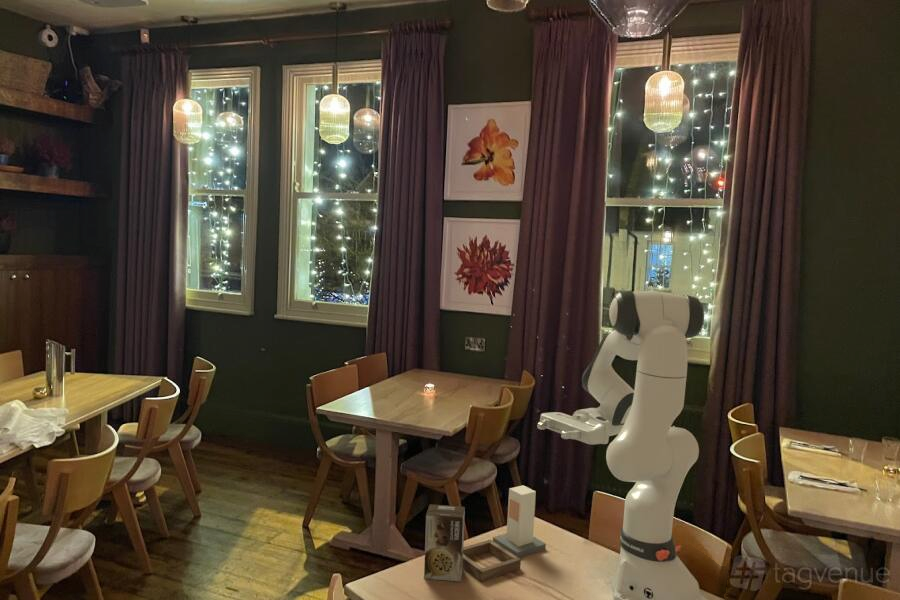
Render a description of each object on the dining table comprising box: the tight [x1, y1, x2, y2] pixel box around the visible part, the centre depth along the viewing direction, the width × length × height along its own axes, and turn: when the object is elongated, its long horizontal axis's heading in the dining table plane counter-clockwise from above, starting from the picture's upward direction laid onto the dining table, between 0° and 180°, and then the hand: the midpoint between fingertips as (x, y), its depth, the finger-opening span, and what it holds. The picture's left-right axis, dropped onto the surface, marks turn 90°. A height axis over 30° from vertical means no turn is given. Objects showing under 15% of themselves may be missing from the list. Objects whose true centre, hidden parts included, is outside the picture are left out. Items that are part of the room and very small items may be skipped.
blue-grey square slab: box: [492, 532, 547, 558], centre depth 176 cm, size 10×10×2 cm
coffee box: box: [423, 503, 466, 582], centre depth 159 cm, size 9×6×16 cm
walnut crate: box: [463, 539, 522, 582], centre depth 165 cm, size 12×12×2 cm
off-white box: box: [506, 484, 537, 547], centre depth 175 cm, size 5×5×14 cm
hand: (550, 430), depth 180 cm, fingers open, 8 cm apart
